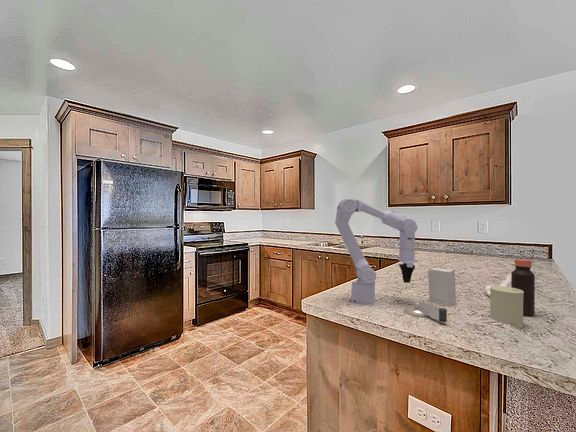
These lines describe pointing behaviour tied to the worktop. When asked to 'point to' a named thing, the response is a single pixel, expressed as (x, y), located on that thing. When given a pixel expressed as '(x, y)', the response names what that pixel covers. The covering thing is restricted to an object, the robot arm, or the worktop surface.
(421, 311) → the crank handle
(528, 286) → the bottle
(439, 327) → the worktop surface
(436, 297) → the skincare box
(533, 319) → the worktop surface
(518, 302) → the can
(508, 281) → the plastic part
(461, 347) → the worktop surface
